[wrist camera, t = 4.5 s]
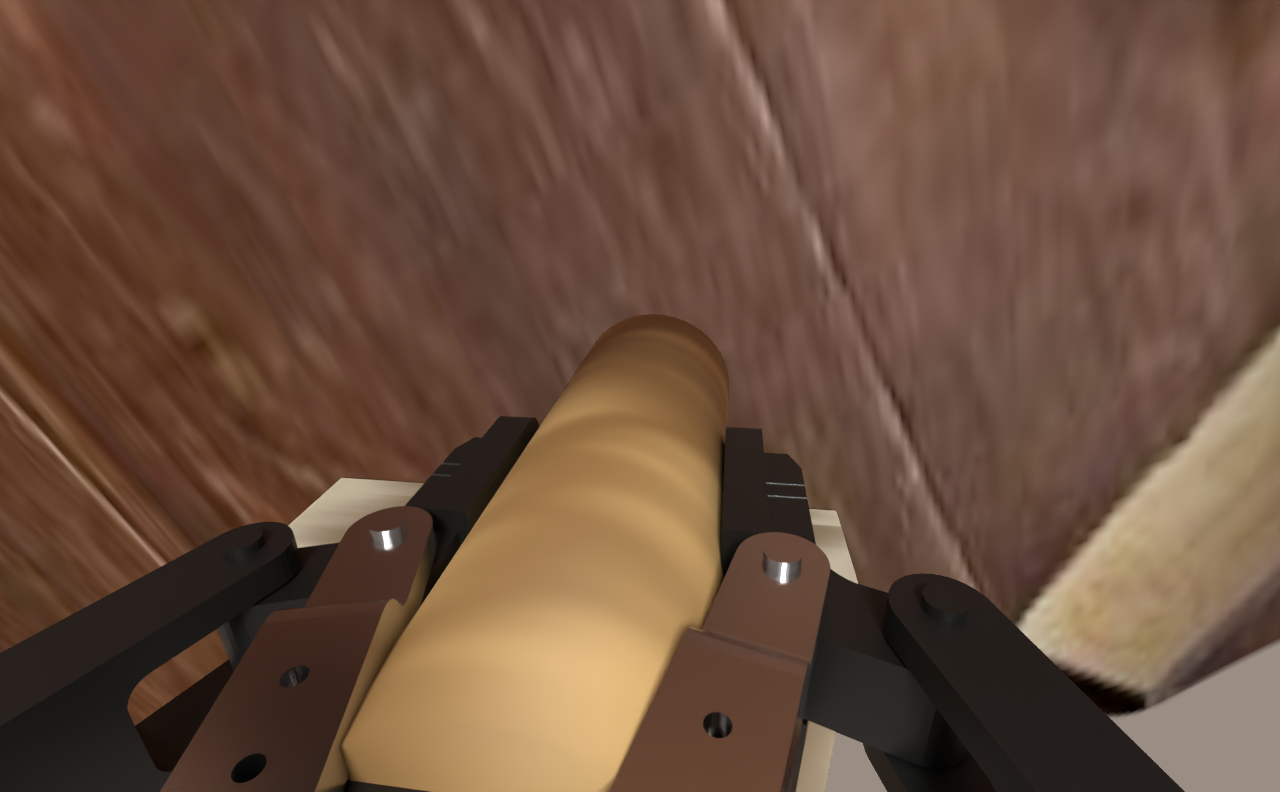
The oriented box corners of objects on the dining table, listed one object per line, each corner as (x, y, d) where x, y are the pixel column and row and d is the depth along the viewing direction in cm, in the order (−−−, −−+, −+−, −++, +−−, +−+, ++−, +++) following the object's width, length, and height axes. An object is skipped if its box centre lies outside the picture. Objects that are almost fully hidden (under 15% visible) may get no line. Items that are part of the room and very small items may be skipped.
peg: (732, 316, 15) (724, 757, 5) (726, 453, 17) (709, 1024, 6) (579, 312, 16) (246, 699, 5) (587, 446, 18) (346, 958, 7)
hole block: (836, 510, 23) (860, 593, 19) (798, 762, 28) (811, 868, 24) (341, 477, 25) (267, 544, 21) (396, 716, 31) (345, 805, 27)
